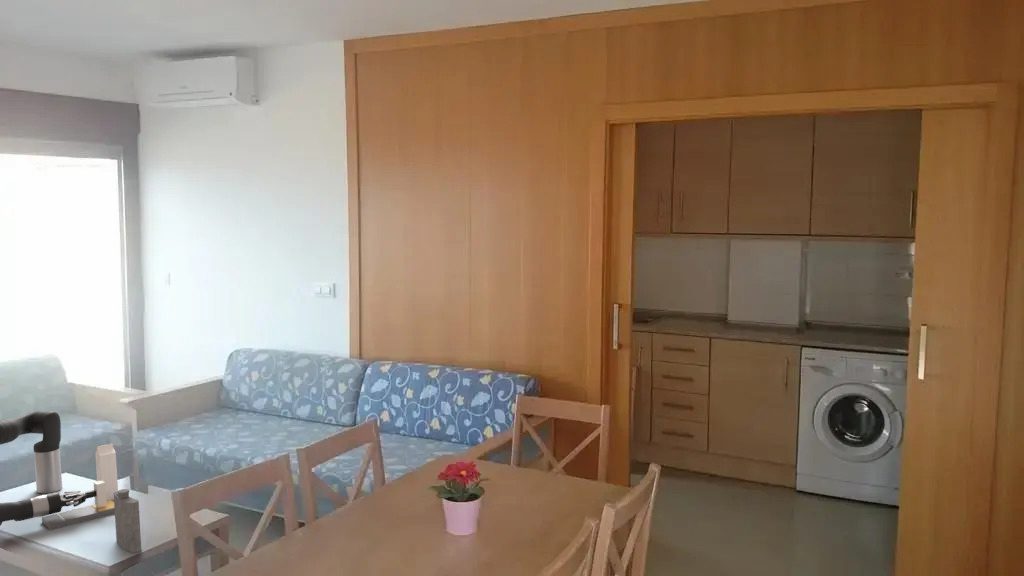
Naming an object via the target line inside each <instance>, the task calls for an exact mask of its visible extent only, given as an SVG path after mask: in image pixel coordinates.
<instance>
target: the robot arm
mask: <svg viewBox="0 0 1024 576" xmlns="http://www.w3.org/2000/svg"><path fill="white" fill-rule="evenodd" d="M61 425H62V424H61V417H60V415H59V413H58V412H56V411H53V410H52V411H51V410H50V411H49V410H36V411H33V412H29V413H27V414H25V415H22V416H18V417H12V418H11V417H10V418H5V419H0V446H1V445H4V444H8V443H11V442H13V441H15V440H16V439H18V438H19V437H20V436H21V435H28V434H40V435H42V439H41V440H40V441H37V442H36V443H34V444H33V457H34V471H35V484H36V485H35V487H36V493H38V494H42V495H37V496H34V497H31V498H27V499H24V500H23V499H22V500H18V501H15V502H12V501H11V502H1V503H0V527H1V526H2V524H3V522H9V521H15V522H21V521H22V522H23V521H25V520H26V521H27V520H31V519H33V518H42V517H45V516H49V515H53V514H57V513H61V512H62V508H63V507H71V506H73V508H75V507H78V506H79V505H81V504H84V503H85V502H86V500H87V499H92V498H95V497H96V491H95V490H94V489H93V490H89V491H85V492H84V491H81V490H77V491H76V490H75V491H74V490H72V491H64V492H63V494H60V493H59V492H58V491H60V490H62V489H63V480H62V479H63V478H62V477H63V476H62V465H61V463H62V461H61V452H60V451H61V449H60V448H61V447H60V443H61V439H62V436H61V435H62V434H61V433H62V430H61V429H62V427H61Z"/></svg>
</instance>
